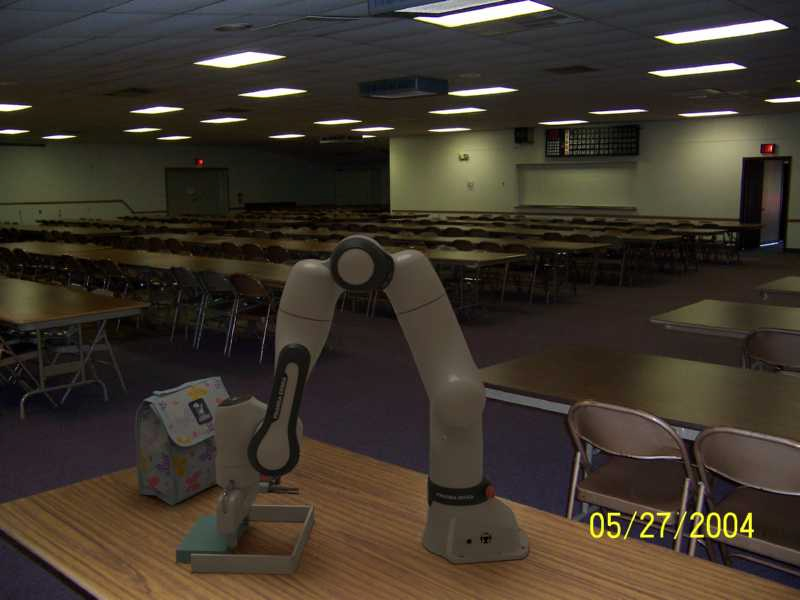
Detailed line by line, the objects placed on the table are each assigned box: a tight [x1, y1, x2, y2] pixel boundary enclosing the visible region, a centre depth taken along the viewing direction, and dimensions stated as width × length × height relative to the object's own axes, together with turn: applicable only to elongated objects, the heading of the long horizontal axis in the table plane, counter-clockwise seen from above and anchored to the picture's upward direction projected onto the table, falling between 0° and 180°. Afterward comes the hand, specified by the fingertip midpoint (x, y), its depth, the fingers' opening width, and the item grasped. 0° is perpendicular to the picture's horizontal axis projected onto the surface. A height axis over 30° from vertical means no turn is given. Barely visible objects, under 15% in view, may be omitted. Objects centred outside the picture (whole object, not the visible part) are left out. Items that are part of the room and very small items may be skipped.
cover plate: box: [175, 514, 247, 563], centre depth 152 cm, size 10×16×3 cm, turn 177°
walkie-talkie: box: [258, 474, 300, 494], centre depth 181 cm, size 9×4×20 cm
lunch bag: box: [134, 376, 230, 506], centre depth 179 cm, size 22×17×26 cm
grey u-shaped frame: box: [190, 504, 315, 575], centre depth 151 cm, size 20×23×4 cm
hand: (239, 534), depth 151 cm, fingers open, 8 cm apart
